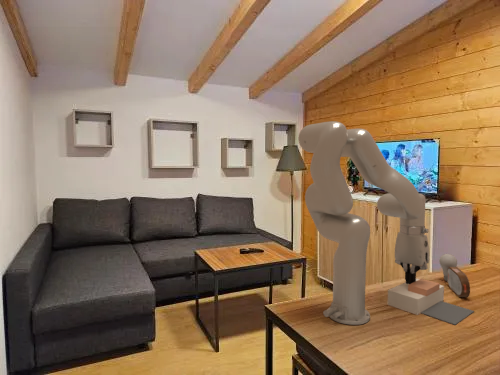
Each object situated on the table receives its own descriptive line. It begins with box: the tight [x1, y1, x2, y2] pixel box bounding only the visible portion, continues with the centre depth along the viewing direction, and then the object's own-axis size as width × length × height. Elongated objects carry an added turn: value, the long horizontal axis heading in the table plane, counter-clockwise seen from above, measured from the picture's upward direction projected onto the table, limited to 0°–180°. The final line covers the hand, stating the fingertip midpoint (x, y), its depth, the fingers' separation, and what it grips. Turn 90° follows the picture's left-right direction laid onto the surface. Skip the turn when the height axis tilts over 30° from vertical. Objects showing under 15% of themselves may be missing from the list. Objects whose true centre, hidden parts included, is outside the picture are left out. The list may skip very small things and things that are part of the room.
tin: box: [446, 266, 471, 299], centre depth 125 cm, size 15×3×8 cm, turn 168°
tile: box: [408, 278, 441, 296], centre depth 114 cm, size 9×6×2 cm, turn 129°
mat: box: [420, 300, 475, 326], centre depth 109 cm, size 14×10×1 cm
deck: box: [387, 278, 445, 316], centre depth 117 cm, size 18×10×5 cm, turn 128°
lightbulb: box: [438, 253, 458, 283], centre depth 136 cm, size 6×6×11 cm
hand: (410, 283), depth 118 cm, fingers closed
